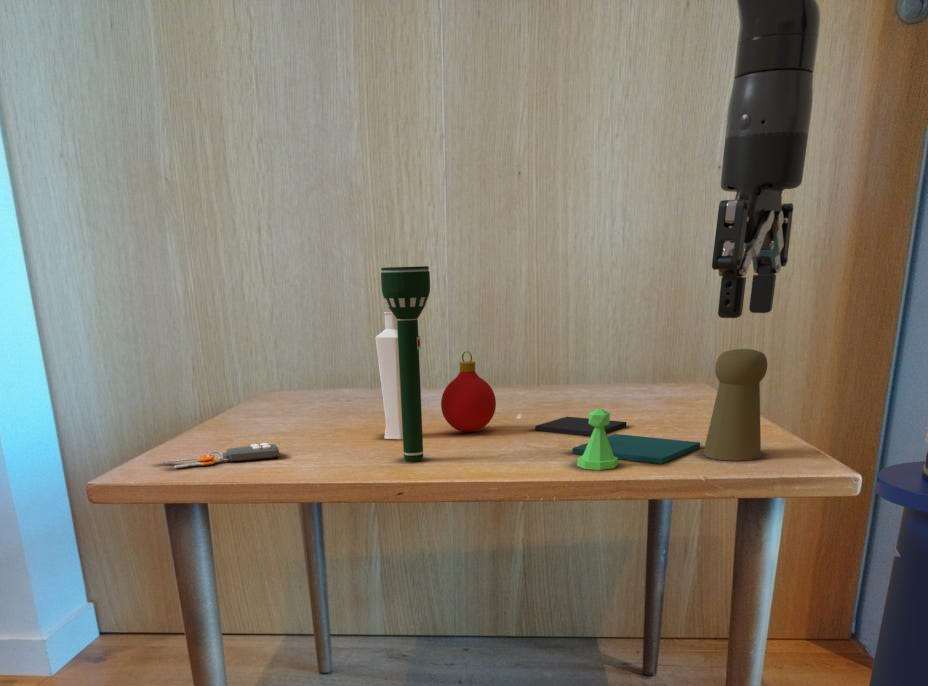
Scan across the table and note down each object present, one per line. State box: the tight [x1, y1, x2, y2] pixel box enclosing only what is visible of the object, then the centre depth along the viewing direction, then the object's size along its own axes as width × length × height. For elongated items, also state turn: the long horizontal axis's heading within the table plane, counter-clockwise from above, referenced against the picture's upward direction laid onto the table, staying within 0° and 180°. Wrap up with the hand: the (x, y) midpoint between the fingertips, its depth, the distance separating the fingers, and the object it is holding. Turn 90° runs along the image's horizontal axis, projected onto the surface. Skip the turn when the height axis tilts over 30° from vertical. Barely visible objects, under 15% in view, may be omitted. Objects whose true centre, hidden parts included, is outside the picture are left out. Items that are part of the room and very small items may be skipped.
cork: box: [702, 348, 769, 462], centre depth 91 cm, size 6×6×11 cm
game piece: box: [576, 407, 619, 471], centre depth 89 cm, size 4×4×6 cm
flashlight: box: [380, 265, 431, 463], centre depth 92 cm, size 5×5×20 cm
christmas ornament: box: [440, 350, 497, 433], centre depth 109 cm, size 7×7×10 cm
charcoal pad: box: [534, 416, 627, 437], centre depth 110 cm, size 9×8×1 cm
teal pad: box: [571, 433, 701, 465], centre depth 97 cm, size 11×10×1 cm
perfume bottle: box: [374, 311, 403, 440], centre depth 106 cm, size 5×4×15 cm
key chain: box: [162, 442, 280, 469], centre depth 98 cm, size 13×4×2 cm, turn 111°
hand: (745, 315), depth 87 cm, fingers open, 8 cm apart
